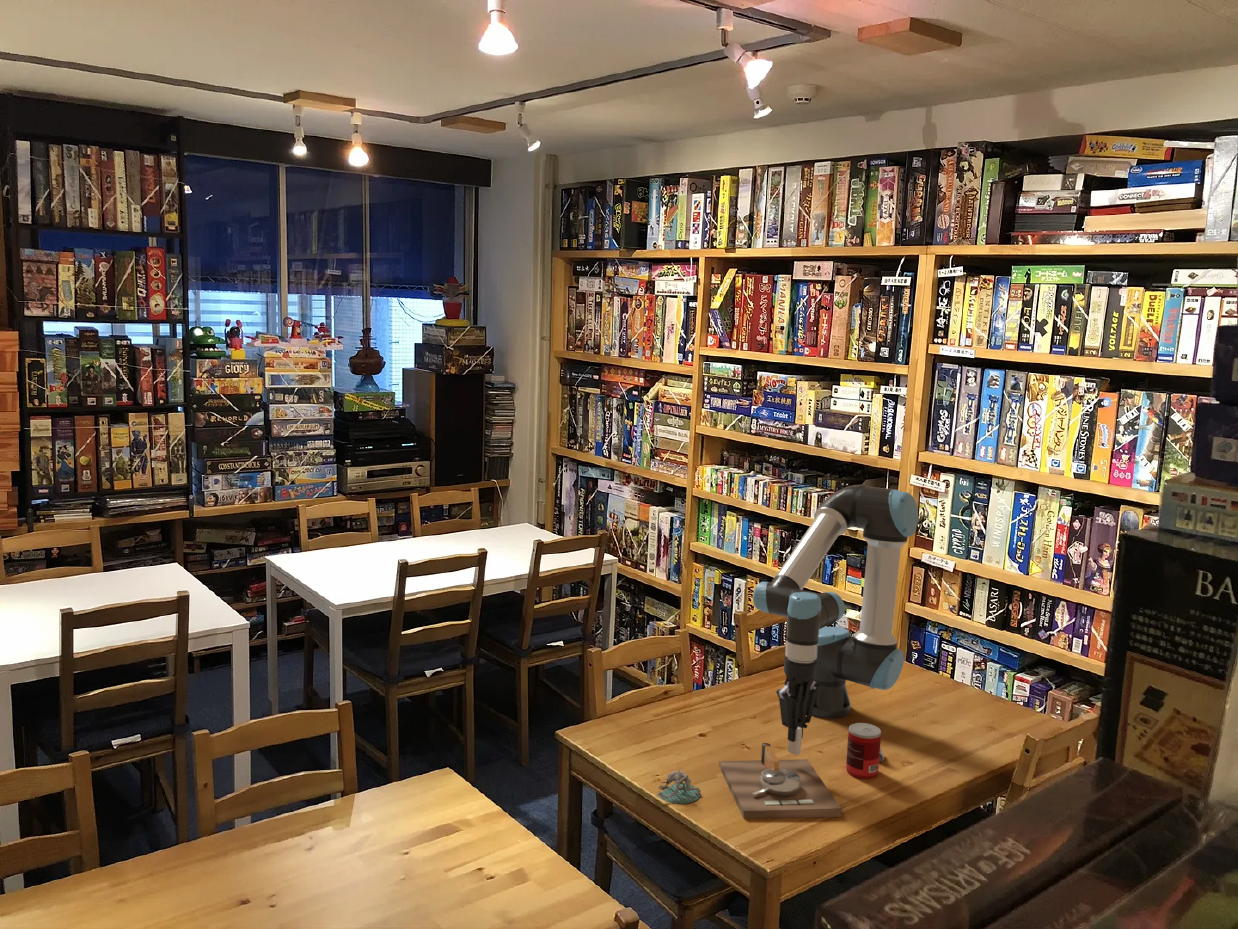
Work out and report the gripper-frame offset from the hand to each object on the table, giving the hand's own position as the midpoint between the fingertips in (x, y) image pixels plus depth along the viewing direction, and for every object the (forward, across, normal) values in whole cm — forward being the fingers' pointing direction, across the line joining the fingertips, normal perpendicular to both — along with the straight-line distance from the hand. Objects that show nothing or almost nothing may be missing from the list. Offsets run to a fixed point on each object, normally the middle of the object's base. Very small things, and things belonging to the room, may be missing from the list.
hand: (794, 752), depth 229 cm
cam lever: (+4, +11, +6) cm, 13 cm away
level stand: (+6, +10, +4) cm, 12 cm away
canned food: (+6, -15, +8) cm, 18 cm away
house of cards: (+6, -21, +5) cm, 22 cm away
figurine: (+6, +31, -7) cm, 32 cm away
